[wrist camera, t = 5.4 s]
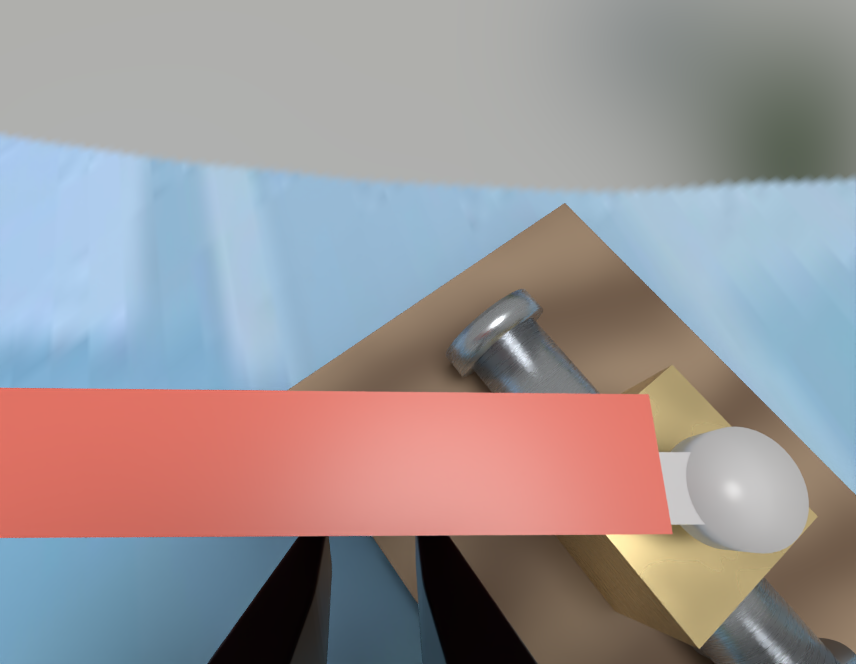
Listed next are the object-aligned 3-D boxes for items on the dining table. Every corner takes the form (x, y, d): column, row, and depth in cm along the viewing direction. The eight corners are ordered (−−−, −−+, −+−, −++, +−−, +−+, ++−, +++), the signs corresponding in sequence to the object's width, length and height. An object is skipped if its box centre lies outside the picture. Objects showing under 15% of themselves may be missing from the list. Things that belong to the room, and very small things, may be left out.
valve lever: (756, 434, 13) (1103, 355, 6) (784, 549, 12) (1227, 588, 5) (165, 431, 12) (-98, 337, 6) (141, 553, 11) (-208, 604, 5)
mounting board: (928, 602, 19) (969, 609, 18) (660, 958, 15) (687, 1003, 14) (555, 220, 25) (564, 202, 23) (286, 404, 21) (278, 396, 19)
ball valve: (818, 639, 17) (1041, 706, 11) (726, 753, 16) (924, 898, 10) (523, 308, 21) (571, 227, 15) (430, 376, 20) (443, 317, 14)
